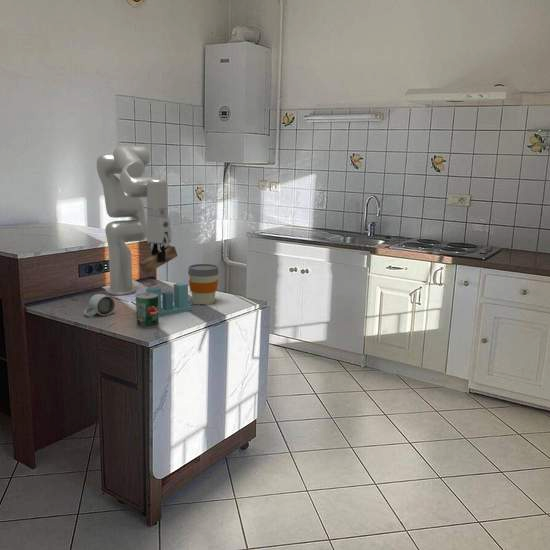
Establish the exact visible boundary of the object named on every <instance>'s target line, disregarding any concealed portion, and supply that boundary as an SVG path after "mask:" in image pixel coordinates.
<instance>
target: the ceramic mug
mask: <svg viewBox="0 0 550 550" xmlns="http://www.w3.org/2000/svg"><path fill="white" fill-rule="evenodd" d="M88 304H89V305H88V306H89V307H87V308H86V309H84V311H83V314H84V316H85V317H87V318H89V317H92V316H95V315H96V314H98V315H99V316H102V317H106V316H105V315H107V316H111V314H112V313H113V312H114V311H115V308H116V302H115V299H114V298H113V297H112V296H110V295H106V294H103V293H102V294H101V293H98V294H93V296H91V298H90V299H89V302H88Z"/></svg>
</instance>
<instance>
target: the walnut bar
mask: <svg viewBox="0 0 550 550" xmlns="http://www.w3.org/2000/svg"><path fill="white" fill-rule="evenodd" d="M177 257H178V252H177V250H176V246H172V245H170V246H169V247H167V249H166V251H165V262H158V254H157V253H156V254H154V255H152V254H151V256H148V257H147V258H145V259H143V260H142V261H139V263H138V264H139V267H140V269H141V272H142V273H144V274H149V273H151V272H152V271H154V270H156V269H158V268H159V267H161V266H163V265H165V264H167V263H169V262H170V261H172V260H174V259H175V258H177Z"/></svg>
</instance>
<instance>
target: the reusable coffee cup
mask: <svg viewBox="0 0 550 550" xmlns="http://www.w3.org/2000/svg"><path fill="white" fill-rule="evenodd" d="M187 272H188V273H187V275H188V277H189V279H188V283H189V284H188V286H189V290H190V292H191V298H192V303H193V302H194V303H193V304H195V305H200V304H204V305H205V304H206V305H212V304H214V303H215V298H216V292H217V290H218V283H219V282H218V281H219V279H218V275H219V266H218V265H215V264H210V263H197V264H191V265H189V266H188V271H187ZM211 303H212V304H211ZM204 305H203V306H204Z"/></svg>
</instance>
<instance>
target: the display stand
mask: <svg viewBox="0 0 550 550" xmlns="http://www.w3.org/2000/svg"><path fill="white" fill-rule="evenodd" d="M145 290H146V292H145V293H156V294H158V314H159V315H158V316H161V317H165V315H166V316H170V315H175V314H180V312H181V313H186V312H190V311H192V310H193V309H192V308H193V307H192V306H191V305H189V284H187V283H185V282H179V283H174V284H173V292H171V291H163V292H162V289H161V288H159V287H156V286H153V287H152V288H151V287H150V288H148V287H147V288H146V289H145ZM161 292H162V294H161Z"/></svg>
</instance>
